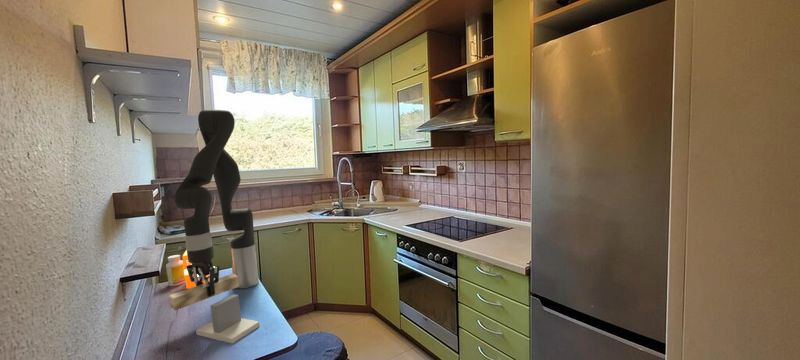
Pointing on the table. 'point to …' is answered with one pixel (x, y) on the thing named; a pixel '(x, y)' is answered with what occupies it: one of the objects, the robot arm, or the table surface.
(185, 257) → the orange juice
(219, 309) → the stand
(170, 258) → the supplement bottle
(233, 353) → the table surface
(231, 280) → the rectangular block
